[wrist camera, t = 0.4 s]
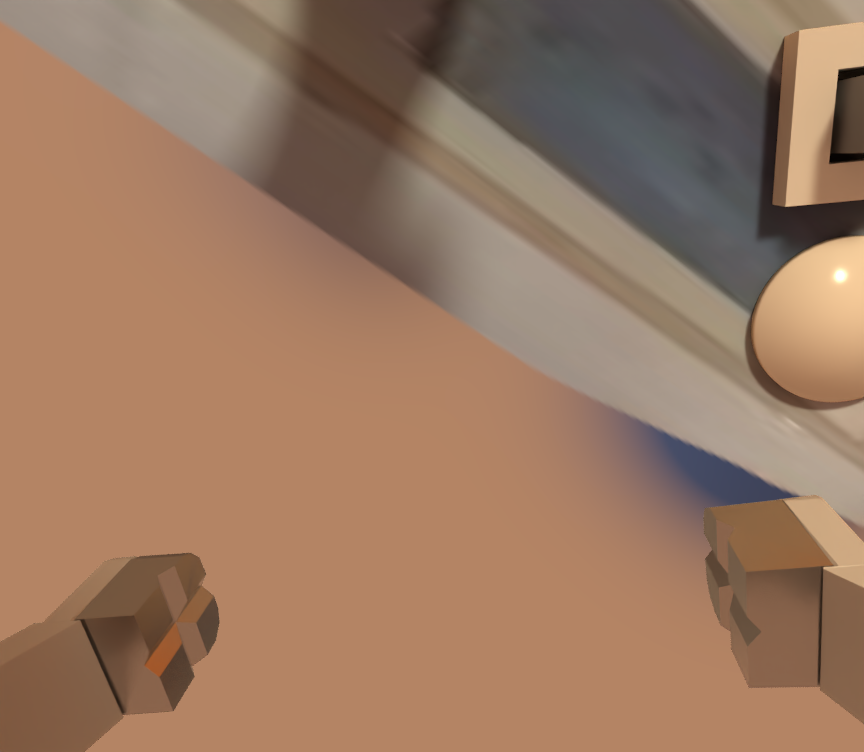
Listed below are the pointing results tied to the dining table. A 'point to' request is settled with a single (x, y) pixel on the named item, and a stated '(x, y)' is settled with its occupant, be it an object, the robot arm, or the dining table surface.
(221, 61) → the dining table surface
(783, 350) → the peach ellipsoid
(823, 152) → the pocket collar
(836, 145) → the block
